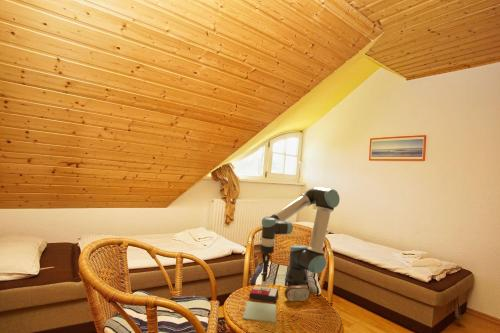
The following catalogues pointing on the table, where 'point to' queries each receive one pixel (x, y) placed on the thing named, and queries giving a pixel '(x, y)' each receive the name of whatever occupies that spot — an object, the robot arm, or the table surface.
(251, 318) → the mat
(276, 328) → the table surface
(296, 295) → the tin
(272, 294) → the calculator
